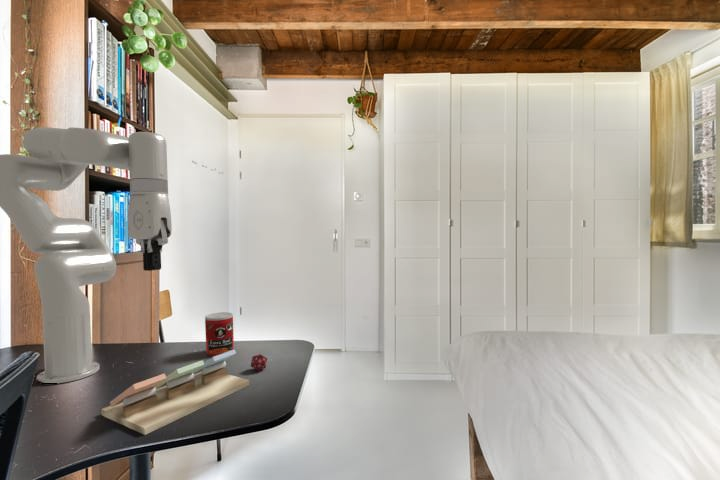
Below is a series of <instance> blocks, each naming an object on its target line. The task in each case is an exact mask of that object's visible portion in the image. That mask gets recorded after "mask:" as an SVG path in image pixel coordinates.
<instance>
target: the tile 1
mask: <svg viewBox="0 0 720 480" xmlns="http://www.w3.org/2000/svg"><path fill="white" fill-rule="evenodd" d="M166 376H167V375H166V373H162V374H159V375H156V376H153V377H151V378H148V379H147V378H146V379H145V380H142V381H139V382H136V383H133V384H132V385H131V386H129V387H128V388H127V389H125V390H124V391H123V392H121V393H120V394H118V395H117V396H116V397H115V398H113V399H112V400H111V401H110V402H109V405H110V406H111V407H113V406H115V405H118V404H121V403H124V405H125V406H126V405H129V404H131V403H134V402H136V401H139V400H141V399H144V398H146V397H149V396H151V395H154V394H156V388H155V386H156V385H157V384H159V383H160V382H162V381H163V380H165V379H166Z"/></svg>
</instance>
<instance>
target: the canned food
mask: <svg viewBox="0 0 720 480" xmlns="http://www.w3.org/2000/svg"><path fill="white" fill-rule="evenodd" d="M204 319H205V320H204V324H205V325H204V326H205V352H206V354H207V355H208V356H209V357H214V356H217V355H220V354H223V353H226V352H228V351H231V350H234V349H235V344H234V343H235V341H234V315H233V313H232V312H225V311H223V312H215V313H214V312H213V313H210V314H206V315H205V317H204Z"/></svg>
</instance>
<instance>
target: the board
mask: <svg viewBox="0 0 720 480" xmlns="http://www.w3.org/2000/svg"><path fill="white" fill-rule="evenodd" d="M227 370H228V369H227V367H226V366H225V367H222V368H220V369H217V370H215V371H212V372H210V373H207V374H205V375H204V374H203V373H202V371H201V372H199V373H196V374H194V379H192V380H189V381H187V382H184V383H182V384H179V385H177V386H174V387H172V388H169V389H168V388H167V387H166V386H164V387H161V388H159V389H156V394H154V395H151V396H149V397H146V398H144V399H141V400H139V401H136V402H134V403H131V404H129V405H126V406H125V405H124V403H121V404H118V405H115V406H113V407H111V405H108V406H106V407H103V408H101V409H100V412H101V413H100V414H101V416H103V417H104V418H106V419H109V420H111V421H113V422H116V423H117V424H120V425H122V426H124V427H127V428H128V429H130V430H133V431H135V432H137V433H140V434H142V435H144V436H146V435H148V434H150V433H152V432H154V431H156V430H158V429H161V428H162V427H163V428H164V427H165V426H167V425H169V424H171V423H174V422H175V421H177V420H179V419H182V418H184V417H185V416H188V415H190V414H192V413H194V412H196V411H198V410H200V409H203V408H205V407H207V406H209V405H211V404H213V403H215V402H217V401H219V400H221V399H223V398H225V397H227V396H230V395H231V394H233V393H235V392H238V391H240V390H242V389H243V388H246V387H248V386H250V380H249V379H247V378H243V377H239V376H235V375H232V374H228V371H227Z"/></svg>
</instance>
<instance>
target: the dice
mask: <svg viewBox="0 0 720 480" xmlns="http://www.w3.org/2000/svg"><path fill="white" fill-rule="evenodd" d="M267 361H268V357H266V356H264V355H262V354H261V353H259V354H257V355H253V356H252V357H251V362H250V367H251V368H253V369H254V370H256V371H262V370H263V369H266V367H267V363H268V362H267Z"/></svg>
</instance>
